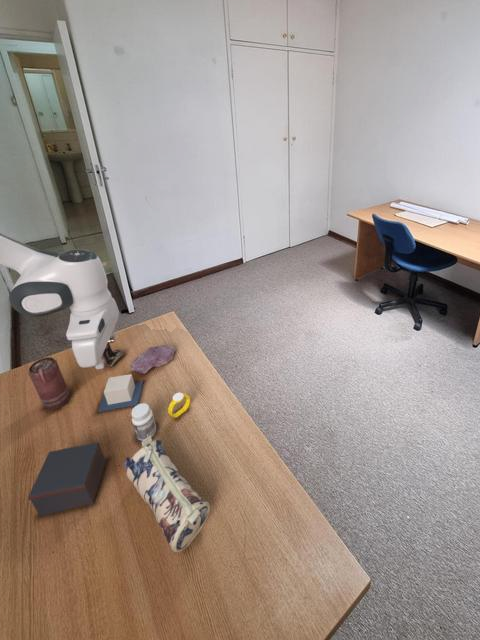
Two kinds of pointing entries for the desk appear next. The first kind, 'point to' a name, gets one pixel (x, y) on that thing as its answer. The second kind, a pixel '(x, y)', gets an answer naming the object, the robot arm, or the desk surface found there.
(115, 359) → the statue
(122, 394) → the small box
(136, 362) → the fossil
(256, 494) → the desk surface
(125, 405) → the mat
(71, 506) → the storage box
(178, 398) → the watch
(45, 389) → the can
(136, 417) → the pill bottle
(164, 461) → the pencil case
